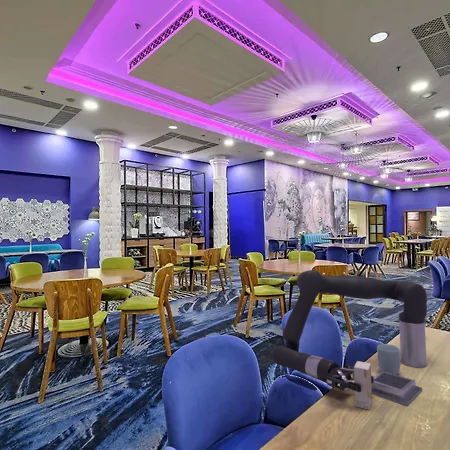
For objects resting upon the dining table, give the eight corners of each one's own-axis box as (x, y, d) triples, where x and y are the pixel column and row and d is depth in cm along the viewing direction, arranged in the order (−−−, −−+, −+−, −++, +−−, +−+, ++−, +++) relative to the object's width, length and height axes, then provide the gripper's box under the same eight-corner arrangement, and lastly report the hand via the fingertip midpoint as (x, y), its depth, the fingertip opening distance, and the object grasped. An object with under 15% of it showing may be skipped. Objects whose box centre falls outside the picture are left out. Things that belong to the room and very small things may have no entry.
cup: (403, 378, 118) (402, 351, 118) (381, 377, 120) (380, 350, 120) (397, 370, 126) (395, 344, 126) (375, 368, 127) (374, 343, 128)
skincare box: (369, 410, 98) (368, 370, 98) (354, 406, 100) (353, 367, 101) (372, 401, 103) (371, 362, 104) (358, 397, 106) (357, 360, 106)
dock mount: (380, 377, 119) (379, 368, 120) (422, 390, 109) (421, 380, 109) (363, 390, 110) (362, 380, 110) (407, 406, 100) (406, 394, 100)
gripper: (309, 364, 109) (356, 379, 96) (331, 353, 118) (376, 365, 106) (310, 386, 108) (357, 404, 96) (332, 373, 118) (377, 388, 106)
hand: (367, 384), depth 101 cm, fingers open, 8 cm apart
